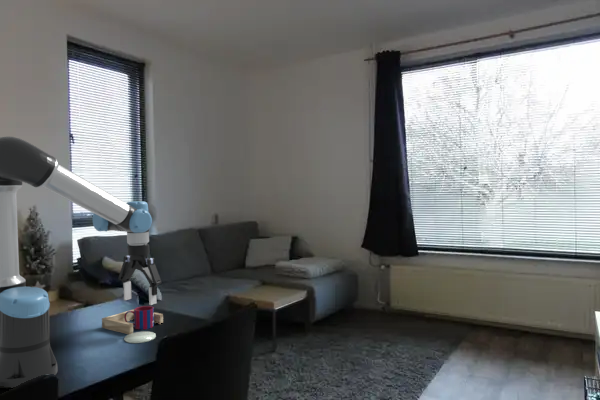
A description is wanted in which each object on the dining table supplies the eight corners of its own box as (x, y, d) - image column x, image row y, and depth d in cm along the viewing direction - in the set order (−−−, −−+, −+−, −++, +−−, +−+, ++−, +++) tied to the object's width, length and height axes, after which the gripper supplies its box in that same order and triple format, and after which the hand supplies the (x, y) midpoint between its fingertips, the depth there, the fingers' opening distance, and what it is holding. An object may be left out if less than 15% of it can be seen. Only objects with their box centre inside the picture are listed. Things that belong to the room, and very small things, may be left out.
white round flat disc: (138, 345, 145) (138, 343, 145) (117, 339, 150) (117, 338, 150) (162, 336, 154) (162, 334, 154) (142, 331, 159) (142, 329, 159)
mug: (153, 328, 162) (152, 310, 162) (123, 331, 160) (123, 312, 159) (154, 323, 168) (154, 305, 168) (126, 325, 166) (126, 307, 166)
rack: (129, 334, 156) (129, 324, 155) (102, 327, 163) (101, 318, 163) (163, 323, 168) (162, 314, 168) (136, 317, 176) (135, 308, 176)
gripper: (170, 244, 160) (172, 303, 161) (124, 240, 173) (126, 295, 174) (154, 247, 154) (155, 308, 154) (107, 243, 166) (109, 299, 167)
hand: (140, 301), depth 164 cm, fingers open, 13 cm apart
